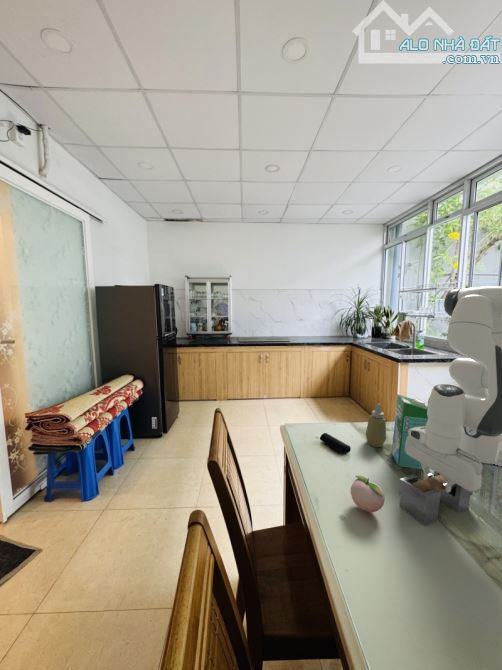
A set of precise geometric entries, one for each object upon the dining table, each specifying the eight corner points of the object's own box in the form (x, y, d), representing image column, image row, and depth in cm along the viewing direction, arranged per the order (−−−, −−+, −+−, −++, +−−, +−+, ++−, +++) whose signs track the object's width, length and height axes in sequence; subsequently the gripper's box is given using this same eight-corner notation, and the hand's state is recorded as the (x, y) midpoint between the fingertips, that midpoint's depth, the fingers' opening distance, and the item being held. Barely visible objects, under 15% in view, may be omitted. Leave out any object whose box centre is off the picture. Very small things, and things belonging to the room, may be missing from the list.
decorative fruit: (342, 506, 81) (345, 475, 80) (358, 495, 86) (360, 466, 85) (373, 528, 73) (376, 494, 72) (387, 514, 78) (391, 482, 77)
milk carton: (424, 469, 100) (432, 404, 97) (397, 465, 102) (404, 401, 99) (416, 456, 109) (422, 396, 106) (391, 453, 111) (397, 393, 108)
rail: (456, 487, 84) (445, 475, 87) (465, 481, 82) (453, 468, 85) (418, 501, 77) (407, 487, 80) (425, 494, 75) (414, 480, 78)
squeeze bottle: (386, 442, 119) (390, 403, 117) (384, 451, 112) (388, 409, 110) (366, 437, 123) (370, 399, 121) (363, 445, 116) (366, 404, 114)
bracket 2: (457, 512, 80) (461, 484, 79) (431, 494, 87) (434, 468, 86) (470, 507, 82) (474, 479, 81) (443, 490, 89) (447, 464, 88)
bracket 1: (411, 501, 84) (414, 474, 83) (437, 520, 77) (440, 491, 75) (397, 506, 82) (400, 478, 81) (422, 526, 74) (425, 496, 73)
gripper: (490, 458, 71) (483, 506, 73) (417, 424, 90) (413, 463, 91) (475, 462, 69) (468, 512, 70) (403, 427, 87) (399, 467, 89)
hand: (436, 484), depth 81 cm, fingers closed on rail, 4 cm apart
